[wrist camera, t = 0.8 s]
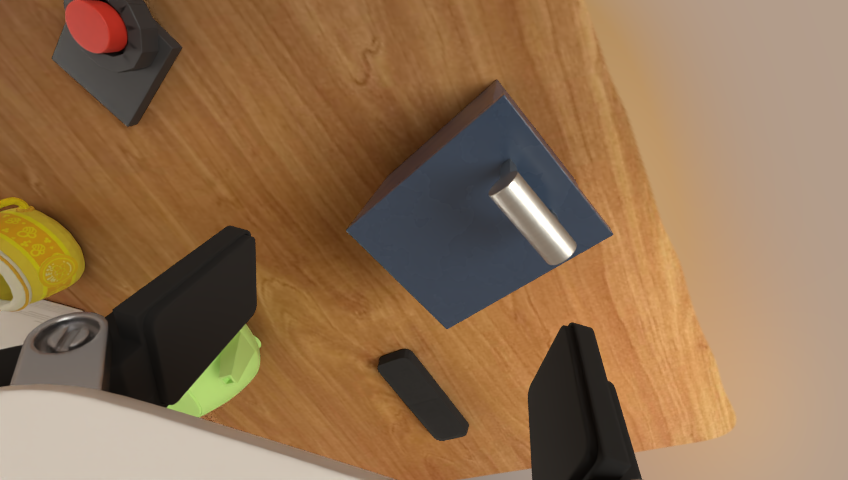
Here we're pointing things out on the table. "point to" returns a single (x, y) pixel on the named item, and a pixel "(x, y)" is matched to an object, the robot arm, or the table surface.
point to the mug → (34, 256)
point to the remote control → (422, 395)
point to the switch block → (122, 62)
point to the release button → (96, 26)
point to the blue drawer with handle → (480, 217)
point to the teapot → (223, 376)
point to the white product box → (28, 321)
